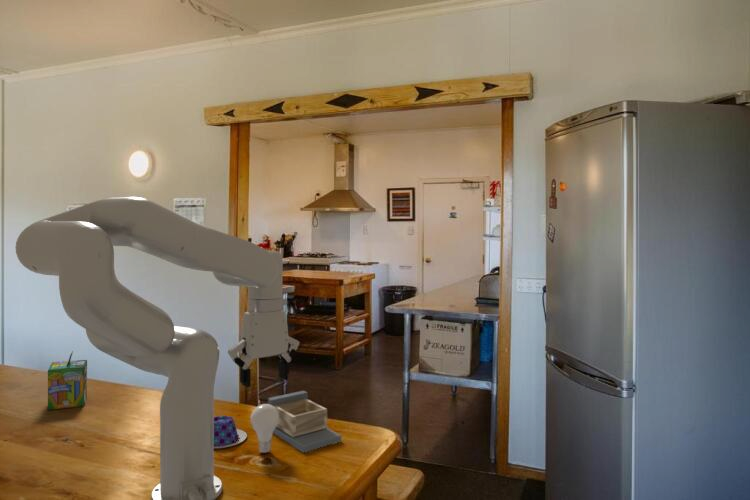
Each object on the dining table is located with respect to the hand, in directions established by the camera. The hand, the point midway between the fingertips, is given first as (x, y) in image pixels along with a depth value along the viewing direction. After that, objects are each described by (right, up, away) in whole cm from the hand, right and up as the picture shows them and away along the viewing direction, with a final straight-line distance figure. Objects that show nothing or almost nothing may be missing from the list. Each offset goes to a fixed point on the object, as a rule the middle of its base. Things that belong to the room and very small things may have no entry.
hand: (265, 381), depth 115 cm
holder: (+6, -14, +12) cm, 19 cm away
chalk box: (-64, -15, +32) cm, 73 cm away
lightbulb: (0, -16, +1) cm, 16 cm away
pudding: (-12, -16, +8) cm, 22 cm away
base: (+7, -16, +10) cm, 20 cm away
